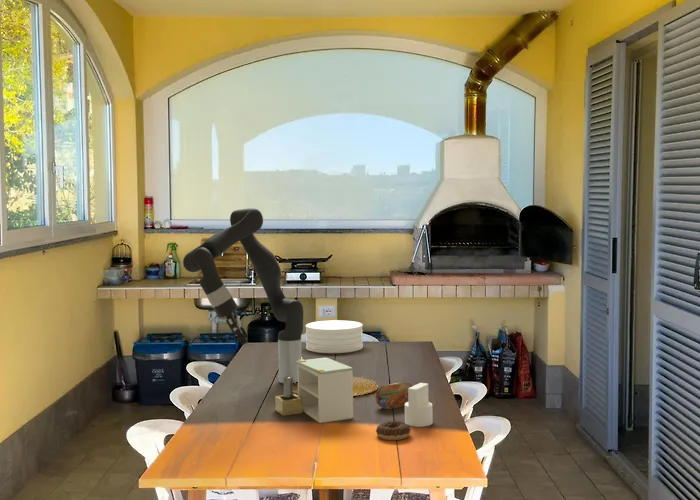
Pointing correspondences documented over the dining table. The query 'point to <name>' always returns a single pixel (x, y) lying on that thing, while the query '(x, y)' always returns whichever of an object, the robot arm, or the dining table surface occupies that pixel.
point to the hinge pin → (288, 387)
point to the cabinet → (325, 389)
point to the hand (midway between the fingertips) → (245, 340)
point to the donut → (393, 430)
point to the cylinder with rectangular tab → (418, 406)
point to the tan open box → (289, 405)
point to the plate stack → (334, 336)
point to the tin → (393, 395)
